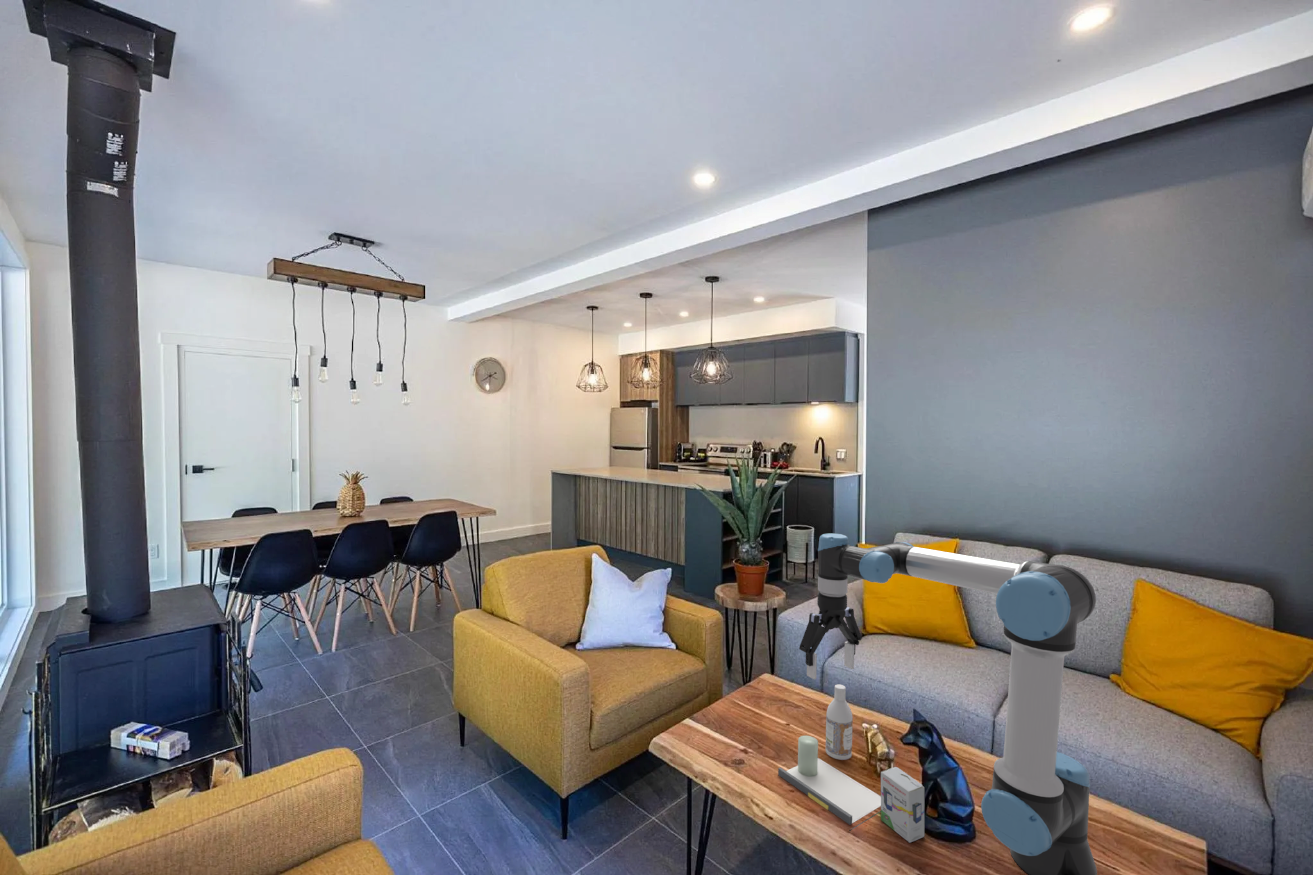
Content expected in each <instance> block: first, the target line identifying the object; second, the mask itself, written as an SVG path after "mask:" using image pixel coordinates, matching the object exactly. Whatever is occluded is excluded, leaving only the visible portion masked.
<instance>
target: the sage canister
mask: <svg viewBox="0 0 1313 875" xmlns="http://www.w3.org/2000/svg"><path fill="white" fill-rule="evenodd" d="M797 741H798V742H797V766H798V771H799V773H800V774H802V775H804V776H808V777H812V776H815V775H817V767H818V758H819V740H818V739H817V738H816V737H814V736H810V735H800V736H799V737H798V740H797Z"/></svg>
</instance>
